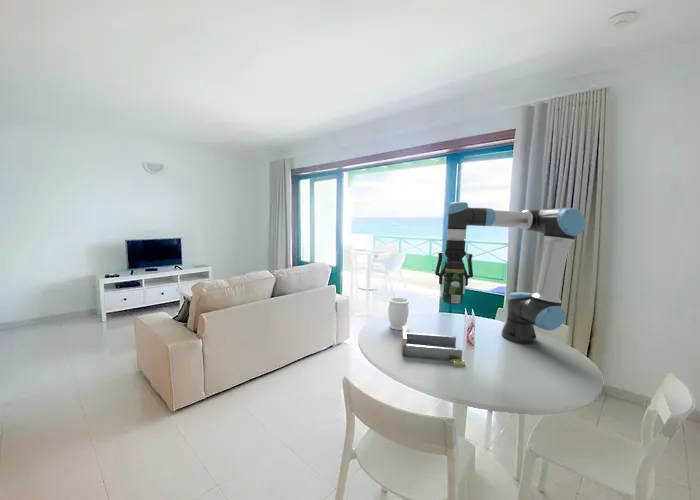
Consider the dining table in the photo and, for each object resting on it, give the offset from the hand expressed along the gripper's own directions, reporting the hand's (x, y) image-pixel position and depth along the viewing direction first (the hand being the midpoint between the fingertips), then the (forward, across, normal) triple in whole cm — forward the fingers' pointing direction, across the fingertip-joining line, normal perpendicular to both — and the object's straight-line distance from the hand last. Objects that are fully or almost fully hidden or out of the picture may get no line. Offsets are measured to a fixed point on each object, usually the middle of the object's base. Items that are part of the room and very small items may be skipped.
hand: (452, 292), depth 131 cm
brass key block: (+27, -2, +10) cm, 29 cm away
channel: (+27, +8, 0) cm, 28 cm away
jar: (+27, +22, -27) cm, 44 cm away
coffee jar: (+4, 0, 0) cm, 4 cm away
